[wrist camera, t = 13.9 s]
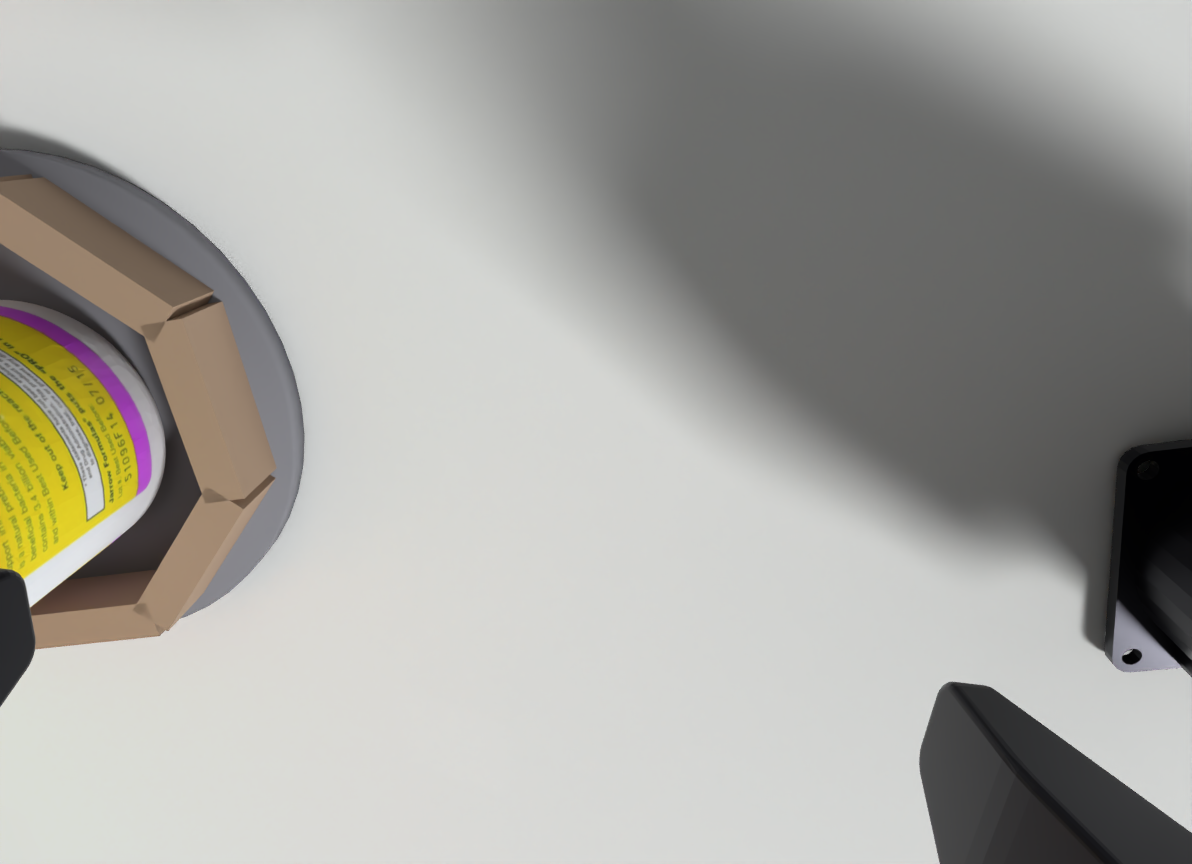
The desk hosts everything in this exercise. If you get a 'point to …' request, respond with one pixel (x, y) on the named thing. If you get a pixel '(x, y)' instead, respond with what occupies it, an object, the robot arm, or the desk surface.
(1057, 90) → the desk surface
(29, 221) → the coaster ring
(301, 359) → the desk surface
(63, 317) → the supplement bottle
